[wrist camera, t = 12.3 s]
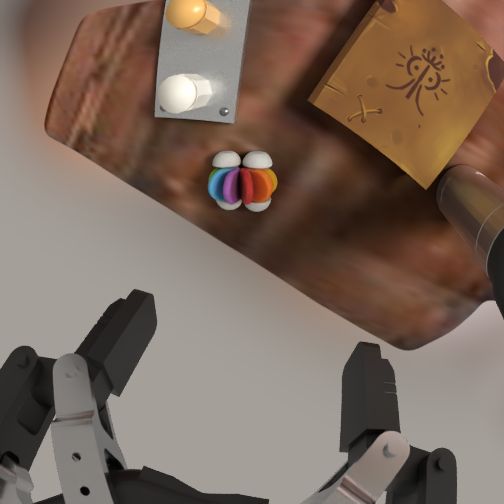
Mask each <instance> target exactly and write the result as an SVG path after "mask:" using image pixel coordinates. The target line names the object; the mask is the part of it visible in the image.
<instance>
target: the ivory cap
mask: <svg viewBox="0 0 504 504" xmlns="http://www.w3.org/2000/svg"><path fill="white" fill-rule="evenodd" d="M211 95H212V91H211V87H210V83H209V80H207V79H205V78H203V77H201V76H199V75H198V74H179V75H174V76H170V77H168V78H167V79H165V80H164V81H163V82H162V84H161V85H160V87H159V90H158V100H159V103H160V105H161V106H162V108H163V109H165V110H166V111H168V112H170V113H176V114H178V113H181V112H185V111H189V110H193V109H196V108H199V107H203V106H205V105H206V104H207V102H208V100H209V99H210V97H211Z"/></svg>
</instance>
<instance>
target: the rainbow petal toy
mask: <svg viewBox="0 0 504 504" xmlns="http://www.w3.org/2000/svg"><path fill="white" fill-rule="evenodd" d="M241 162H242V161H241V159H240V157H239V155H238V154H237V153H235V152H233V151H222V152H219V153H218V154H217V155H216V156H215V157H214V159H213V166H214V167H217V168H215V169H214V170H213V171H212V173H211V174H210V176H209V183H208V192H209V194H210V195H211V197H212V198H214V199H215V200H216V202H217V204H218V205H219V206H220V207H221V208H223V209H225V210H233V209H236V208H238V207H239V206H240V205H241V203H242V202H243V203H244V204H245V206H246V207H247V208H248V209H249V210H251V211H255V212H259V211H263V210H265V209H266V208H267V207H268V206H269V204H270V202H271V197H270V196H271V194H272V192H273V191H274V190H275V189H276V187H277V178H276V175H275V174H274V172H273V171H272V170H271V169H269V168H268V167H271V166H272V160H271V158H270V156H269V155H268V154H267V153H265V152H262V151H252V152H250V153H248V154H247V155H246V156H245V157H244V159H243V166H244V167H245V168H246V169H245V168H239V165H240V164H241Z"/></svg>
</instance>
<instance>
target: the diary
mask: <svg viewBox="0 0 504 504" xmlns="http://www.w3.org/2000/svg"><path fill="white" fill-rule="evenodd" d="M503 79H504V62H503V60H502V59H501V58H500V57H499V56H498V55H497V53H496V52H495V51H494V50H493V49H492V48H491V47H490V46H489V44H488V43H487V42H486V41H485V40H484V39H483V38H482V37H481V36H480V35H479V34H478V33H477V32H476V31H475V30H474V29H473V28H472V27H471V26H470V25H469V24H468V23H467V22H466V21H465V20H464V19H463V18H461V17H460V16H459V15H458V14H457V13H456V12H455V11H454V10H452V9H451V8H450V7H449V6H448V5H447V4H445V3H444V2H443V1H442V0H376V1H375V3H374V4H373V5H372V7H371V8H370V9H369V11H368V12H367V14H366V15H365V16H364V18H363V19H362V21H361V22H360V23H359V25H358V26H357V28H356V29H355V31H354V32H353V33H352V35H351V36H350V38H349V39H348V41H347V42H346V43H345V45H344V46H343V48H342V49H341V51H340V52H339V54H338V55H337V56H336V58H335V59H334V61H333V62H332V64H331V65H330V67H329V68H328V70H327V71H326V73H325V74H324V76H323V77H322V79H321V80H320V82H319V83H318V85H317V86H316V88H315V89H314V91H313V92H312V94H311V95H310V97H309V98H308V100H307V101H309V102H310V103H312V104H313V105H315V106H316V107H318V108H320V109H321V110H323V111H324V112H326V113H327V114H329V115H330V116H332V117H333V118H335V119H336V120H338V121H339V122H341V123H342V124H344V125H345V126H347V127H348V128H349V129H351V130H352V131H354V132H355V133H356V134H358V135H359V136H361V137H362V138H363V139H365V140H366V141H367V142H369V143H370V144H371V145H373V146H374V147H375V148H377V149H378V150H379V151H380V152H382V153H383V154H384V155H386V156H387V157H388V158H389V159H391V160H392V161H393V162H394V163H395V164H397V165H398V166H399V167H400V168H401V169H403V170H404V171H405V172H406V173H407V174H409V175H410V176H411V177H412V178H413V179H414V180H415V181H417V182H418V183H419V184H420V185H421V186H422V187H423V188H424V189H425V190H427V188H428V187H429V186H430V185H431V183H432V182H433V181H434V180H435V178H436V177H437V176H438V174H439V173H440V172H441V171H442V169H443V168H444V167H445V165H446V164H447V163H448V161H449V160H450V159H451V157H452V156H453V155H454V153H455V152H456V150H457V149H458V148H459V146H460V145H461V144H462V142H463V141H464V139H465V138H466V136H467V135H468V134H469V132H470V131H471V129H472V128H473V126H474V125H475V123H476V122H477V120H478V119H479V117H480V116H481V114H482V113H483V111H484V110H485V108H486V107H487V105H488V104H489V102H490V100H491V99H492V97H493V96H494V94H495V92H496V91H497V89H498V87H499V86H500V84H501V82H502V81H503Z"/></svg>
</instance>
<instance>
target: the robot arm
mask: <svg viewBox="0 0 504 504" xmlns="http://www.w3.org/2000/svg"><path fill="white" fill-rule="evenodd" d="M436 199H437V204H438V207H439V209H440V211H441V212H442V214H443V215H444V216H445V217H446V219H447V220H448V221H449V222H450V224H451V225H452V226H453V228H454V229H455V230H456V232H457V233H458V234H459V236H460V237H461V238H462V240H463V241H464V242H465V244H466V245H467V247H468V248H469V249H470V251H471V252H472V254H473V255H474V257H475V258H476V260H477V261H478V262H479V264H480V265H481V267H482V268H483V270H484V271H485V273H486V275H487V276H488V278H489V279H490V281H491V283H492V284H493V294H494V298H495V301H496V303H497V306H498V307H499V310H500V312H501V314H502V316H503V319H504V190H503V189H502V188H500V187H499V186H498V185H496V184H495V183H494V182H492V181H491V180H490V179H488V178H487V177H486V176H484V175H483V174H481V173H480V172H479V171H477V170H476V169H474V168H473V167H471V166H468V165H457V166H454V167H452V168H450V169H449V170H448V171H447V172H446V173H445V174H444V175H443V176H442V178H441V179H440V181H439V184H438V187H437V193H436ZM156 326H157V317H156V310H155V303H154V296H153V294H150V293H147V292H144V291H140V290H136V289H134V290H133V291H132V292H131V293H130V294H129V296H128V297H127V298H126V300H125V299H122V298H120V299H119V300H117V301H115V302H114V303H112V304H111V305H110V306H109V307H108V308H107V310H106V311H105V312H104V313H103V316H102V317H100V319H99V320H98V322H97V324H95V325H94V327H93V328H92V330H91V331H90V332H89V334H88V335H87V337H86V338H85V339H84V341H83V342H82V343H81V345H80V346H79V348H78V349H77V350H76V352H74V353H70V354H65V355H63V356H61V357H60V358H58V359H52V358H45V357H39V356H38V355H37V354H36V352H35V350H34V349H33V348H31V347H29V346H21V347H18V348H16V349H15V350H14V351H13V352H12V353H11V354H10V356H9V357H8V359H7V360H6V362H5V363H4V365H3V366H2V368H1V369H0V504H268V503H269V499H263V498H257V497H251V496H246V495H240V494H207V493H201V492H199V491H197V490H196V489H194V488H192V487H190V486H188V485H187V484H185V483H183V482H181V481H180V480H178V479H176V478H175V477H173V476H170V475H167V474H165V473H162V472H159V471H156V470H154V469H151V468H148V467H146V466H144V467H143V469H142V470H139V469H128V468H127V465H126V462H125V459H124V456H123V454H122V452H121V449H120V447H119V445H118V443H117V440H116V437H115V432H114V428H113V424H112V420H111V415H110V411H109V407H108V402H107V399H108V397H109V395H110V393H112V394H114V395H116V396H118V397H119V396H120V395H121V393H122V391H123V389H124V387H125V386H126V384H127V382H128V380H129V378H130V376H131V374H132V373H133V371H134V369H135V367H136V365H137V364H138V362H139V360H140V358H141V356H142V354H143V353H144V351H145V349H146V347H147V346H148V344H149V342H150V340H151V339H152V337H153V335H154V333H155V330H156ZM27 395H28V396H27ZM22 404H23V405H22ZM341 410H342V411H341V433H340V452H348V460H347V461H346V462H345V463H344V464H343V465H342V466H341V467H340V468H339V469H338V470H337V472H335V474H334V475H333V476H332V477H331V478H330V479H329V480H328V481H327V482H326V483H324V484H323V485H322V486H321V487H320V488H319V489H318V490H317V491H316V492H315V493H314V494H313V495H311V496H310V497H309V498H307V499H306V500H304V501H303V502H302V503H301V504H375V502H376V501H377V499H378V498H379V497H380V495H381V494H382V493H383V492H384V491H387V495H386V503H385V504H456V503H457V467H456V459H455V456H454V454H453V453H452V452H451V451H450V450H448V449H446V448H438V449H436V450H434V451H432V452H428V451H425V450H421V449H418V448H415V447H413V446H411V445H409V443H408V441H407V439H406V438H405V437H404V436H403V435H402V434H401V431H400V424H399V411H398V401H397V395H396V385H395V375H394V370H393V368H392V366H391V365H390V363H389V361H388V359H381V351H380V346H379V345H378V344H373V343H367V342H359V343H358V344H357V346H356V348H355V349H354V351H353V353H352V354H351V356H350V358H349V360H348V361H347V363H346V365H345V367H344V371H343V375H342V409H341ZM55 414H56V419H55V420H54V421H52V420H53V418H54V416H55ZM51 422H52V423H51ZM50 424H51V435H52V442H53V448H54V454H55V460H56V465H57V470H58V475H59V479H60V484H61V488H62V492H63V493H62V494H59V495H56V496H54V497H51V498H48V499H45V500H42V501H39V502H36V503H33V502H32V499H31V491H32V490H33V487H34V486H33V483H32V481H31V477H30V474H29V473H28V472H29V470H30V467H31V465H32V462H33V460H34V458H35V456H36V454H37V451H38V449H39V447H40V445H41V443H42V440H43V438H44V436H45V434H46V432H47V430H48V428H49V426H50Z"/></svg>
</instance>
